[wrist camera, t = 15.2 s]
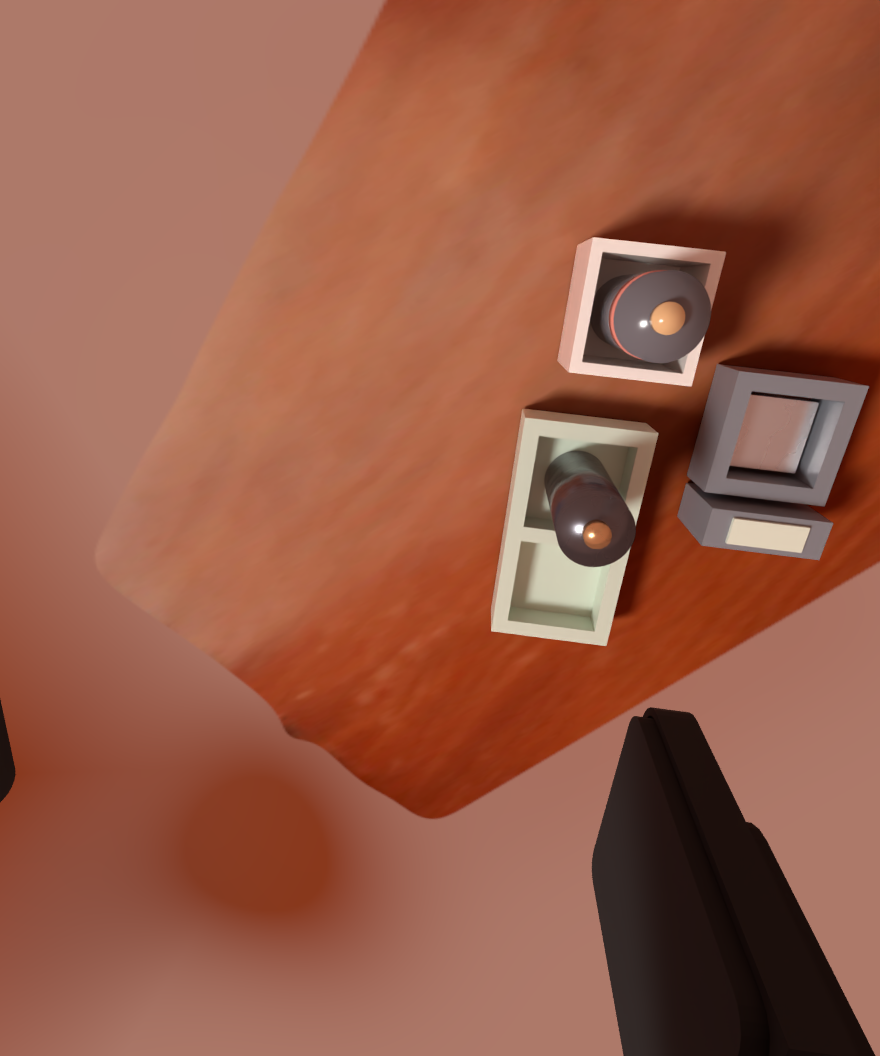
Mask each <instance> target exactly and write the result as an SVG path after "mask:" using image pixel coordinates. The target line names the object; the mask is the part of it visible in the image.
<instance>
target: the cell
mask: <svg viewBox="0 0 880 1056" xmlns="http://www.w3.org/2000/svg"><path fill="white" fill-rule="evenodd" d="M544 485H545V490H546V494H547V499H548V503H549V507H550V511H551V516H552V520H553V524H554V528H555V533H556V537H557V541H558V544H559V547H560V549H561V550H562V552H563V553H564V554H565V555H566V557H568V558H569V559H570V560H571V561H573V562H575V563H577V564H579V565H582V566H587V567H601V566H606V565H609V564H611V563H614V562H615V561H617V560H619V559H620V558H621V557H623V556H624V555H625V554H626V553H627V551H628V550H629V549H630V547H631V546H632V544H633V541H634V538H635V533H636V525H635V520H634V517H633V515H632V513H631V511H630V510H629V508H628V506H627V505H626V503H625V501H624V500H623V498H622V496H621V495H620V493H619V491H618V490H617V488H616V486H615V484H614V483H613V481H612V479H611V478H610V476H609V474H608V473H607V471H606V469H605V468H604V466H603V464H602V463H601V461H600V460H599V459H598V458H597V457H595V456H594V455H592V454H590V453H588V452H585V451H569V452H566V453H563V454H561V455H559V456H558V457H556V458H555V459H554V460H553V461H552V462H551V463H550V465H549V466H548V468H547V470H546V473H545V478H544Z"/></svg>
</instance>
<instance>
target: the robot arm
mask: <svg viewBox="0 0 880 1056" xmlns="http://www.w3.org/2000/svg"><path fill="white" fill-rule="evenodd" d="M14 779H15V766H14V761H13V756H12V752H11V747H10V742H9V738H8V733H7V728H6V724H5V720H4V714H3V710H2V706H1V700H0V802H1V801H2V800H3V799H4V798H5V797H6V795H7V794H8V793H9V791H10V789H11V787H12V785H13V782H14ZM592 878H593V885H594V891H595V896H596V902H597V907H598V913H599V919H600V924H601V930H602V935H603V942H604V947H605V953H606V958H607V964H608V970H609V976H610V981H611V987H612V992H613V998H614V1004H615V1010H616V1015H617V1021H618V1026H619V1032H620V1038H621V1044H622V1049H623V1054H624V1056H875V1054H874V1052H873V1050H872V1048H871V1046H870V1044H869V1043H868V1040H867V1038H866V1036H865V1034H864V1032H863V1030H862V1028H861V1026H860V1024H859V1023H858V1020H857V1019H856V1017H855V1015H854V1013H853V1011H852V1009H851V1007H850V1005H849V1003H848V1001H847V999H846V997H845V995H844V993H843V991H842V989H841V987H840V985H839V983H838V981H837V979H836V977H835V975H834V973H833V971H832V969H831V967H830V965H829V963H828V961H827V959H826V957H825V955H824V953H823V951H822V949H821V948H820V946H819V943H818V941H817V939H816V937H815V935H814V933H813V931H812V929H811V927H810V925H809V923H808V921H807V920H806V918H805V916H804V914H803V912H802V910H801V908H800V906H799V904H798V902H797V900H796V898H795V896H794V894H793V892H792V890H791V888H790V886H789V884H788V882H787V880H786V878H785V876H784V874H783V872H782V870H781V868H780V866H779V864H778V862H777V860H776V858H775V856H774V854H773V852H772V851H771V848H770V846H769V844H768V842H767V840H766V839H765V837H764V836H763V834H762V833H761V831H760V830H759V829H758V828H757V827H756V826H755V825H753V824H752V823H748V822H745V819H744V817H743V815H742V813H741V811H740V809H739V807H738V805H737V803H736V801H735V798H734V796H733V794H732V792H731V790H730V788H729V786H728V784H727V782H726V780H725V778H724V776H723V774H722V772H721V770H720V767H719V765H718V763H717V761H716V760H715V757H714V755H713V753H712V751H711V749H710V747H709V745H708V743H707V741H706V739H705V736H704V735H703V732H702V730H701V728H700V726H699V724H698V722H697V720H696V718H695V717H694V715H692V714H691V713H688V712H681V711H673V710H666V709H659V708H648V709H647V710H646V711H645V713H644V715H643V717H638V716H634V717H633V718H632V719H631V721H630V723H629V726H628V730H627V734H626V738H625V742H624V745H623V748H622V751H621V755H620V759H619V762H618V766H617V769H616V773H615V777H614V780H613V784H612V787H611V791H610V795H609V798H608V802H607V805H606V809H605V812H604V816H603V819H602V823H601V826H600V830H599V834H598V838H597V841H596V844H595V848H594V852H593V858H592Z"/></svg>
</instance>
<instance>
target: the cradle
mask: <svg viewBox="0 0 880 1056" xmlns="http://www.w3.org/2000/svg"><path fill="white" fill-rule="evenodd" d="M868 388H869V386H867V385H863V384H859V383H855V382H851V381H847V380H843V379H839V378H835V377H826V376H817V375H809V374H800V373H791V372H783V371H774V370H765V369H757V368H748V367H739V366H731V365H722V364H717V366H716V370H715V374H714V377H713V381H712V385H711V388H710V392H709V396H708V399H707V403H706V407H705V411H704V414H703V418H702V422H701V425H700V429H699V433H698V436H697V440H696V444H695V447H694V451H693V455H692V458H691V462H690V466H689V469H688V473H687V476H688V477H689V478H690V479H691V480H692V481H693V482H694V483H695V484H692V483H686V486H685V490H684V493H683V497H682V501H681V504H680V508H679V512H678V515H677V517H678V518H679V519H680V520H681V521H682V523H683V524H684V525H685V526H686V527H687V529H688V530H689V531H690V532H691V533H692V535H693V536H694V537H695V538H696V539H697V541H698V542H699V543H700V544H701V545H702V546H710V547H718V548H726V549H734V550H742V551H750V552H758V553H766V554H774V555H782V556H790V557H798V558H806V559H814V560H819V559H820V557H821V554H822V551H823V549H824V546H825V544H826V541H827V538H828V536H829V533H830V530H831V528H832V525H833V523H832V522H831V521H829V520H828V519H826V518H825V517H824V516H822V515H821V514H819V513H818V512H816V511H815V510H813V509H812V508H810V507H809V506H807V505H815V506H823V507H825V504H826V501H827V499H828V496H829V493H830V491H831V488H832V485H833V483H834V480H835V477H836V474H837V472H838V469H839V466H840V464H841V461H842V458H843V456H844V453H845V450H846V447H847V445H848V442H849V439H850V437H851V434H852V431H853V429H854V426H855V423H856V421H857V418H858V415H859V412H860V410H861V407H862V404H863V402H864V399H865V396H866V394H867V391H868ZM752 391H755V392H763V393H772V394H781V395H789V396H798V397H806V398H811V400H813V401H816V402H818V403H819V405H818V408H817V411H816V414H815V417H814V419H813V422H812V425H811V428H810V431H809V434H808V437H807V440H806V443H805V446H804V449H803V452H802V454H801V457H800V460H799V463H798V466H797V469H796V472H795V473H787V472H779V471H771V470H762V469H754V468H746V467H737V466H730V463H731V459H732V456H733V453H734V449H735V446H736V443H737V439H738V436H739V433H740V429H741V426H742V423H743V419H744V416H745V413H746V409H747V406H748V403H749V399H750V396H751V392H752ZM806 504H807V505H806Z"/></svg>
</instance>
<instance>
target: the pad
mask: <svg viewBox="0 0 880 1056" xmlns="http://www.w3.org/2000/svg"><path fill="white" fill-rule="evenodd" d="M818 405H819V403H818V402H816V401H813V400H810V399H807V398H798V397H789V396H781V395H772V394H764V393H755V392H751V396H750V399H749V403H748V406H747V409H746V413H745V416H744V419H743V423H742V426H741V429H740V433H739V436H738V439H737V443H736V446H735V449H734V453H733V456H732V459H731V463H730V466H737V467H746V468H754V469H762V470H771V471H779V472H787V473H795V472H796V469H797V466H798V463H799V460H800V457H801V454H802V452H803V449H804V446H805V443H806V440H807V437H808V434H809V431H810V428H811V425H812V422H813V419H814V417H815V414H816V411H817V408H818Z"/></svg>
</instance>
